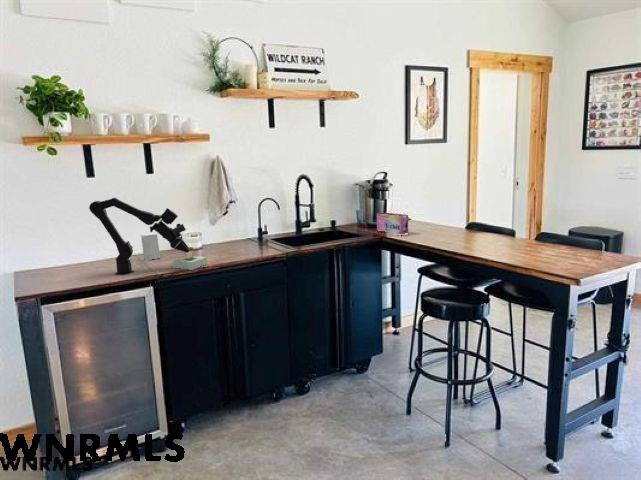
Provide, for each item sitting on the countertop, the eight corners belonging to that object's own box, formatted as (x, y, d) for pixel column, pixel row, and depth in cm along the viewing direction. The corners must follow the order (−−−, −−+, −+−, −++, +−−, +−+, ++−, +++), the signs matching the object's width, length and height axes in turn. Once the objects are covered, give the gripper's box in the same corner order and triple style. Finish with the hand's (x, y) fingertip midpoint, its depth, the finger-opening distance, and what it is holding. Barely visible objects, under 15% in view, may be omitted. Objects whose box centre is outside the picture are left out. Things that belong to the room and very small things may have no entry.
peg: (192, 267, 255) (190, 248, 253) (184, 267, 256) (183, 248, 254) (195, 265, 259) (194, 247, 258) (188, 265, 260) (186, 247, 258)
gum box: (410, 235, 324) (410, 215, 322) (402, 236, 319) (401, 216, 317) (384, 231, 343) (384, 212, 340) (376, 233, 338) (376, 213, 336)
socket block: (192, 269, 250) (191, 262, 249) (173, 268, 255) (173, 260, 254) (206, 264, 261) (206, 257, 260) (188, 263, 266) (188, 256, 265)
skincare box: (158, 257, 285) (155, 232, 282) (160, 259, 280) (157, 233, 277) (143, 259, 281) (140, 233, 278) (145, 261, 276) (142, 235, 273)
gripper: (175, 221, 243) (199, 241, 248) (175, 217, 261) (198, 236, 265) (159, 238, 242) (184, 258, 247) (161, 232, 260) (184, 251, 265)
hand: (188, 250), depth 256 cm, fingers open, 9 cm apart
